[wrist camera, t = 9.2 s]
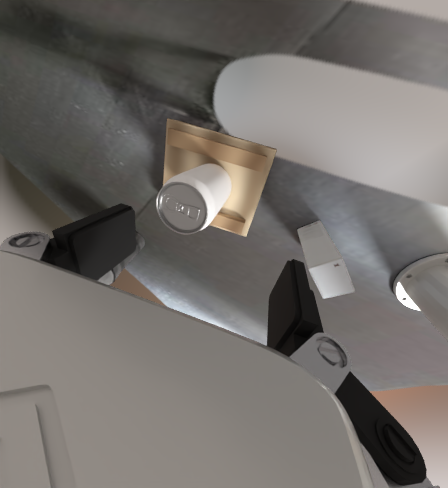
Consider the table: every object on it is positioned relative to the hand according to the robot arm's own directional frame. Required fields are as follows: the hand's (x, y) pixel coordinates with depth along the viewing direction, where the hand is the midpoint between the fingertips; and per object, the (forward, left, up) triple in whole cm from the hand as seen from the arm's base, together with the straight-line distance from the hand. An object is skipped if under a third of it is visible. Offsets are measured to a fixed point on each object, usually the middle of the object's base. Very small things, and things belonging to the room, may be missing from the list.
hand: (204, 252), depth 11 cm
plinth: (+5, +2, -24) cm, 25 cm away
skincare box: (-15, +7, -24) cm, 29 cm away
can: (+5, +2, -20) cm, 21 cm away
